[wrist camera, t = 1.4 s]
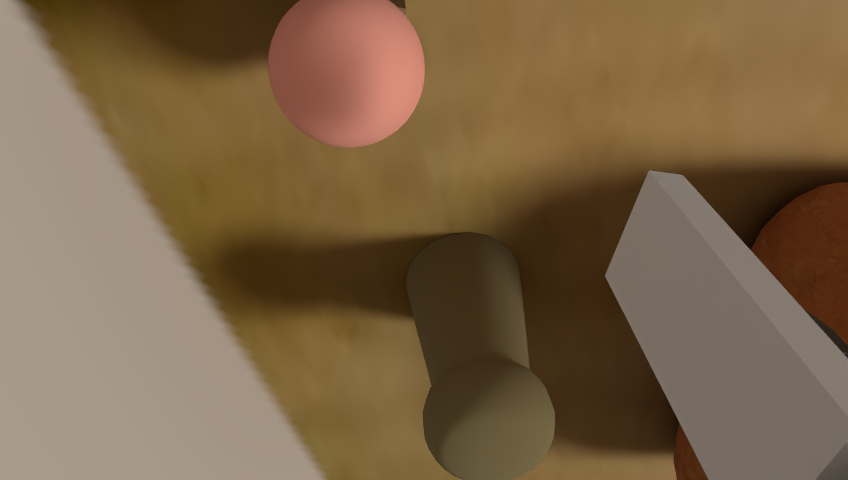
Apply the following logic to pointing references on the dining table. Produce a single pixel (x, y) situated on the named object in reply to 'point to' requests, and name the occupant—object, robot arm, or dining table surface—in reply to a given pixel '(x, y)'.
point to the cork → (477, 360)
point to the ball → (346, 69)
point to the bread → (799, 273)
